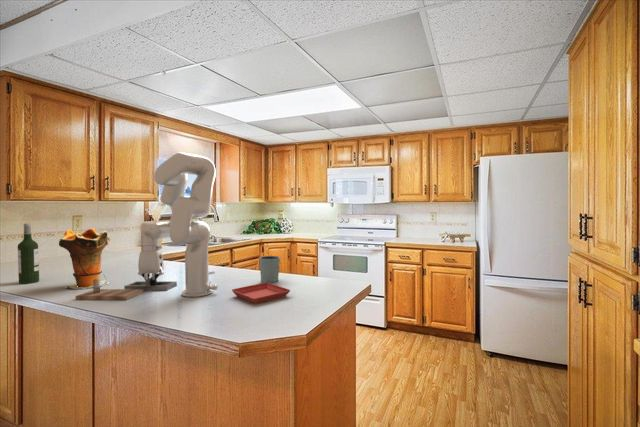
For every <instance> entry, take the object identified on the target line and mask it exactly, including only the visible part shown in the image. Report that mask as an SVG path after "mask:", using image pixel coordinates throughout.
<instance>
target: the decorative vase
mask: <svg viewBox="0 0 640 427" xmlns="http://www.w3.org/2000/svg"><path fill="white" fill-rule="evenodd" d="M110 242H111V238H110V236H109V235H108V232H107V231H106V230H104V231H102V232H100V233H97V231H96V229H95V228H94V227H93V228H88V229H86V230H85V231H84V232H81V233H80V232H79V233H78V232H76V233H75V232H74V231H73V230H71V229H67V230H66V231H65V233H64V235H63V236H62V238H60V239H59V241H58V246H59V247H60V248H62V249H64V250H66V251H68V252H69V257H70V258H71V265H72V270H73V273H72V275H73V277H74V279H75V283H72V284H69V285H66V286H65V287H64V288H65V289H72V290H85V289H93V280H94V279H95V278H98V279H99V280H100V277H101V273H103V271H102V270H101V268H102V254H103V250H104V249H105V247H106V246H108V245H109V244H110ZM103 276H104V277H105V278H106V276H105V275H103ZM106 281H107V280H100V282H102V283H101V284H100V287H101V286H106V285H108V284H110V282H109V281H108V282H106ZM77 286H78V287H77Z"/></svg>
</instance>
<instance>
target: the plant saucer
mask: <svg viewBox="0 0 640 427" xmlns="http://www.w3.org/2000/svg"><path fill="white" fill-rule="evenodd" d="M231 291H232V293H233V294H234V295H235V296H236V297H238V298H240V299H243V300H245V301H247V302H249V303H252V304H256V305H257V304H261V303H264V302H268V301H272V300H277V299H281V298H285V297H286V296H287V295H288V294H289V293H290V292H291V289H289V288H285V287H282V286H279V285H276V284H273V283H263V282H261V283H257V284H252V285H247V286H243V287H237V288H236V287H235V288H232V289H231Z"/></svg>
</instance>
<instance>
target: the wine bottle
mask: <svg viewBox="0 0 640 427" xmlns="http://www.w3.org/2000/svg"><path fill="white" fill-rule="evenodd" d="M31 227H32V224H31V223H29V222H28V223H23V239H22V240H21V241H20V243H18V245H17V266H18V267H17V268H18V269H17V270H18V271H17V272H18V274H17V275H18V284H20V285H28V284H29V285H30V284H34V283H39V281H40V264H39V263H40V262H39V260H40V259H39V256H40V255H39V244H38V243H37V241H35V240H33V238H32V228H31Z"/></svg>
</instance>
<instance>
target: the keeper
mask: <svg viewBox="0 0 640 427" xmlns="http://www.w3.org/2000/svg"><path fill="white" fill-rule="evenodd" d="M100 281H101V280H100V278H99V279H98V278H95V279H94V280H93V287H92V289H91V290H89V291H86V292H83V293H80V294H77V295H75V300H76V301H77V300H80V301H81V300H82V301H87V300H88V301H89V300H90V301H91V300H92V301H95V300H97V301H98V300H99V301H115V300H116V301H128V300H130V299H132V298H134V296H135V297H137V296H139V295H140V294H143V292H144V290H143V289H123V288H119V289H118V288H117V289H115V288H114V289H113V288H111V289H109V288H107V289H106V288H105V289H104V288H103V289H102V288H101V286H100Z"/></svg>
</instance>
